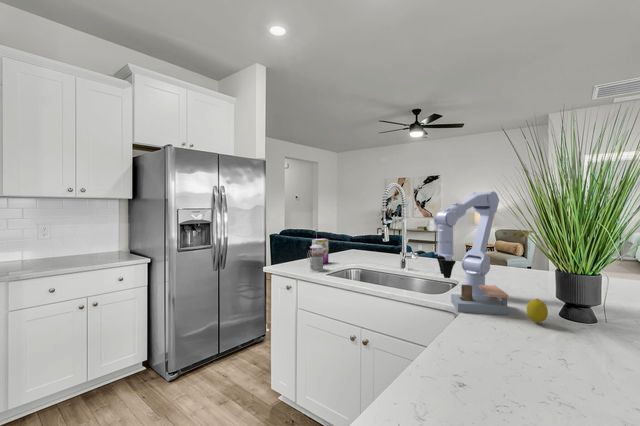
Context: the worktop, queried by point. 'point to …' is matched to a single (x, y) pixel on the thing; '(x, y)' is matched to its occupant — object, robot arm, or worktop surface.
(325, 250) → the candy bar box
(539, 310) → the lemon
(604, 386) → the worktop surface
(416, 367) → the worktop surface
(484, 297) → the socket block
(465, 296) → the peg
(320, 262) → the french press
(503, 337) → the worktop surface
